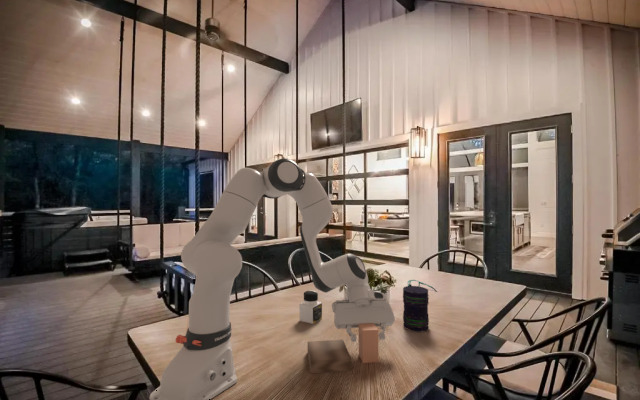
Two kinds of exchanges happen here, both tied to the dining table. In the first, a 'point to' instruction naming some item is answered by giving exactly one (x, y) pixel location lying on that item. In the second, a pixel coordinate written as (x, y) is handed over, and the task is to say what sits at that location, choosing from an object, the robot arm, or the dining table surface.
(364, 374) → the dining table surface
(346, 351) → the walnut block
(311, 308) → the medicine bottle
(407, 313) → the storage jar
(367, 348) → the terracotta block
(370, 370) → the dining table surface
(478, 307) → the dining table surface
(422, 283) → the sunglasses
